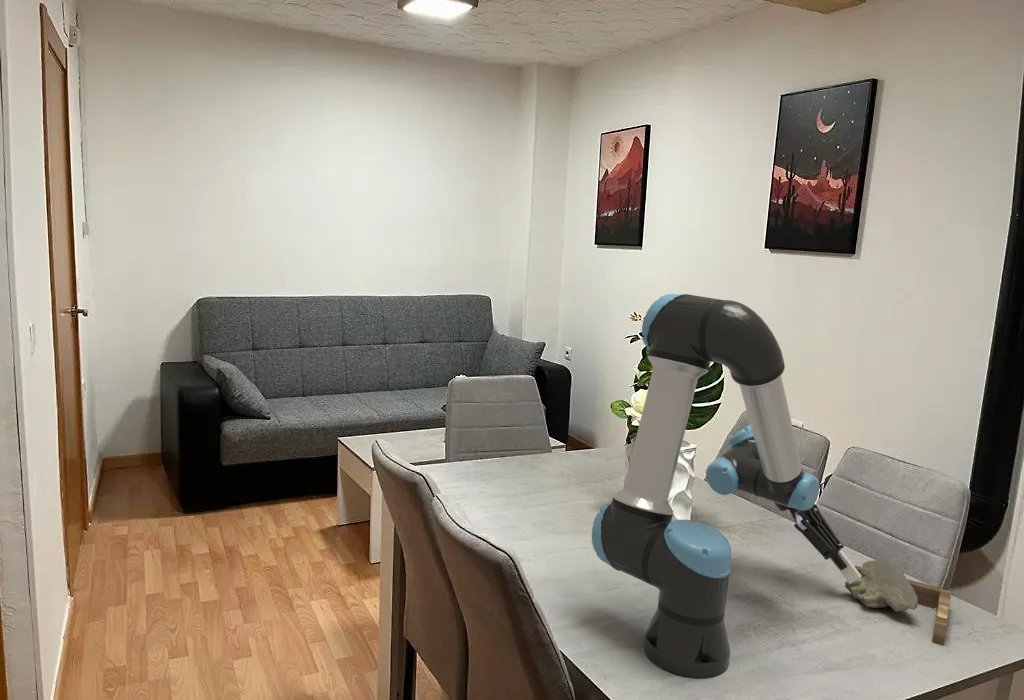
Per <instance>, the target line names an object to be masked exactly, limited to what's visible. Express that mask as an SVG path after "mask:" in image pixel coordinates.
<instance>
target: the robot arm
mask: <svg viewBox="0 0 1024 700" xmlns="http://www.w3.org/2000/svg"><path fill="white" fill-rule="evenodd" d="M641 335H642V342H643V344H644V346H646V348H648V349H649V350H648V355H647V359H648V360H649V362H650V364H651V365H652V371H651V376H650V380H649V384H648V389H647V392H646V395H645V396H646V397H645V401H644V405H643V408H642V412H641V416H640V421H639V424H638V429H637V432H636V437H635V442H634V444H633V449H632V453H631V456H630V461H629V465H628V470H627V473H626V476H625V480H624V485H623V488H622V489H621V490H619V491H618V492H615V494H613V497H612V500H611V501H610V502H607V503H606V504H604V505H603V506H602V507H601V508H600V510H599V512H597V513H596V515H595V517H594V520H593V523H592V527H591V542H592V543H591V544H592V547H593V550H594V552H595V553H596V557H598V559H599V560H601V562H603V563H605V564H606V565H608V566H610V567H611V568H612V569H614V570H616V571H619V572H623V573H625V574H627V575H629V576H630V577H633V578H635V579H638V580H640V581H642V582H643V583H644V582H645V583H646V584H648V585H650V586H653V587H655V588H657V589H658V603H657V608H656V611H655V612H654V615H653V617H652V618H651V621H650V622H649V625H648V627H647V629H646V631H645V633H644V641H643V642H644V643H643V650H644V653H645V655H646V656H647V658H648V659H649V660H650V661H651V662H653V663H654V664H655V665H656V666H658V667H659V668H661V669H663V670H665V671H668V672H670V673H673V674H676V675H679V676H683V677H688V678H689V677H690V678H710V677H714V676H717V675H720V674H723V672H725V671H726V670H727V669H728V667H729V664H730V657H731V648H730V643H729V639H728V634H727V630H726V624H725V612H726V605H727V604H726V603H727V598H728V597H727V596H728V588H729V583H730V581H729V580H730V573H731V570H732V548H731V547H732V546H731V545H730V544H731V543H730V542H729V540H728V538H727V537H726V536H725V535H724V534H723V533H722V532H720V531H719V530H718V529H716V528H714V527H712V526H710V525H709V524H706V523H703V522H701V521H692V520H691V519H676V520H673V515H674V510H673V508H672V507H671V505H670V503H669V497H670V495H671V494H670V492H671V490H672V489H671V488H672V485H673V482H674V477H675V474H676V469H677V465H678V461H679V456H680V452H681V448H682V445H683V442H684V441H683V440H684V437H685V436H684V435H685V433H686V428H687V425H688V420H689V416H690V412H691V410H692V409H691V408H692V404H693V400H694V396H695V393H696V388H697V384H698V381H699V379H700V377H702V376H704V375H705V374H707V373H709V369H710V364H711V363H717V364H721V365H723V366H725V368H727V369H728V370H729V372H730V376H731V379H732V381H734V382H735V383H736V384H738V385H739V387H740V391H741V395H742V399H743V403H744V406H745V409H746V414H747V416H748V417H747V418H748V421H749V424H748V425H746V426H745V427H744V428H742V429H741V430H740V431H738V432H736V433H735V434H734V435H732V436H731V437H730V438H728V440H727V441H728V444H729V446H730V449H728V450H727V451H725V453H723V454H721V455H720V456H717V457H716V458H715V459H714V460H713V461H712V462H711V463H710V464H709V465H708V466H707V468H706V470H705V478H706V482H707V484H708V485H709V487H710V489H712V491H714V492H715V493H717V494H718V495H722V496H727V495H731V494H733V493H735V492H737V491H740V492H743V493H745V494H749V495H752V496H755V497H759V498H762V499H763V500H764V499H765V500H768V501H770V502H773V503H774V504H775V506H776V507H777V508H778V510H779V511H780V512H785V511H786V510H788V511H789V512H790V514H791V516H792V519H793V520H794V521H795V522H796V523H794V524H793V525H794V528H795V529H796V530H797V531H799V532H800V533H801V534H802V535H803V536H804V538H806V540H807V541H808V542H809V543H811V544H810V545H812V546H813V547H814V549H816V551H818V552H819V554H820V556H822V557H823V558H824V560H825V561H827V560H829V559H830V561H831V562H832V563H833V564H834V566H835V567H836V568H837V569H838V570H839V572H840V573H841V574H842V576H843V577H844V579H845V580H846V582H847V581H848V582H849V584H851V583H853V582H854V581H856V580H858V579H860V578H861V574H860V573H859V572H858V571H857V569H856V568H855V565H854V564H853V563H852V562H851V560H850V559H849V557H848V556H847V555H846V554H845V553H844V551H843V550H842V549H843V548H845V546H844V544H842V543H841V541H840V540H839V538H838V537H837V535H836V534H835V532H834V531H833V529H832V528H831V527H830V525H829V524H828V522H827V521H826V519H825V518H824V516H823V514H822V513H821V510H820V509H819V507H818V505H817V504H816V501H817V499H818V497H819V492H820V482H819V479H818V478H817V477H816V476H815V475H812V474H810V473H809V472H807V471H806V472H804V471H803V466H802V462H801V458H800V453H799V449H798V445H797V441H796V436H795V435H796V434H795V431H794V427H793V423H792V418H791V414H790V410H789V406H788V405H789V404H788V400H787V396H786V391H785V388H784V382H783V379H782V375H783V373H784V372H785V369H786V366H785V361H784V357H783V356H784V355H783V352H782V350H781V347H780V344H779V342H778V340H777V339H776V337H775V336H774V333H773V332H772V330H771V329H770V327H769V326H768V324H767V323H766V322H765V321H764V320H763V318H762V317H761V316H760V315H759V314H757V312H756V311H754V310H753V309H752V308H750V307H749V306H747V305H745V304H744V303H741V302H738V301H736V300H735V301H734V300H731V299H730V300H729V299H719V298H714V297H706V296H699V295H694V294H693V295H692V294H687V293H683V294H682V293H681V294H680V293H678V294H676V293H669V294H664V295H662V296H660V297H659V298H658V299H656V300H655V301H654V302H652V303H651V305H650V307H649V308H648V310H647V311H646V313H645V316H644V318H643V320H642V325H641ZM672 520H673V521H672Z"/></svg>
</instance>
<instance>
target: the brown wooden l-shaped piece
mask: <svg viewBox="0 0 1024 700" xmlns="http://www.w3.org/2000/svg"><path fill="white" fill-rule="evenodd" d="M854 567H855V568H856V569H857V571H858V572H859V573H860V574H861V568H862V566H859V565H854ZM906 579H907V578H906ZM907 580H908V581H909V583H910V584H911V586H912V587H913V589H914V591H915V593H916V595H917V597H918V602H917V605H921V606H925V607H929V608H932V609H935V608H936V609H935V610H936V614H935V621H934V627H933V634H932V640H931V642H932V643H935V644H937V645H941V646H945V641H946V634H947V628H948V621H949V611H950V605H951V597H952V591H950V590H945V589H942V588H941V587H939V586H938V587H937V586H934V585H930V584H926V583H923V582H920V581H915V580H911V579H907Z"/></svg>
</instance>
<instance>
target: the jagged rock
mask: <svg viewBox="0 0 1024 700" xmlns="http://www.w3.org/2000/svg"><path fill="white" fill-rule="evenodd" d="M861 567H862V568H861V578H860V579H858V580H856V581H854V582H853V583H851V584H849V582H848V581H847V580H846V581H845V582H844V583H845V585H844V587H845V589H847V590H848V591H849V593H851V595H852V597H853V598H854V599H856V600H859V601H860V602H861V603H862V604H863V605H864V606H865V607H867V608H874V609H878V608H879V609H880V608H885V607H888V606H890V607H891V608H892V609H893V610H894V611H895V612H896V613H898V612H899V613H900V612H902V611H906V610H907V611H908V610H913V611H915V610H916V609H917V608H918V604H917V602H918V597H917V595H916V593H915V591H914V589H913V587H912V586H911V584H910V583H909V581H908V580H909V579H908V580H907V577H906V575H905V573H904V572H903V571H902V569H901V568H900V567H898V566H897V565H896V564H894V563H892V562H891V561H889V560H885V559H884V558H875V559H873V560H867V561H865V562H864V563H862V566H861Z"/></svg>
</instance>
